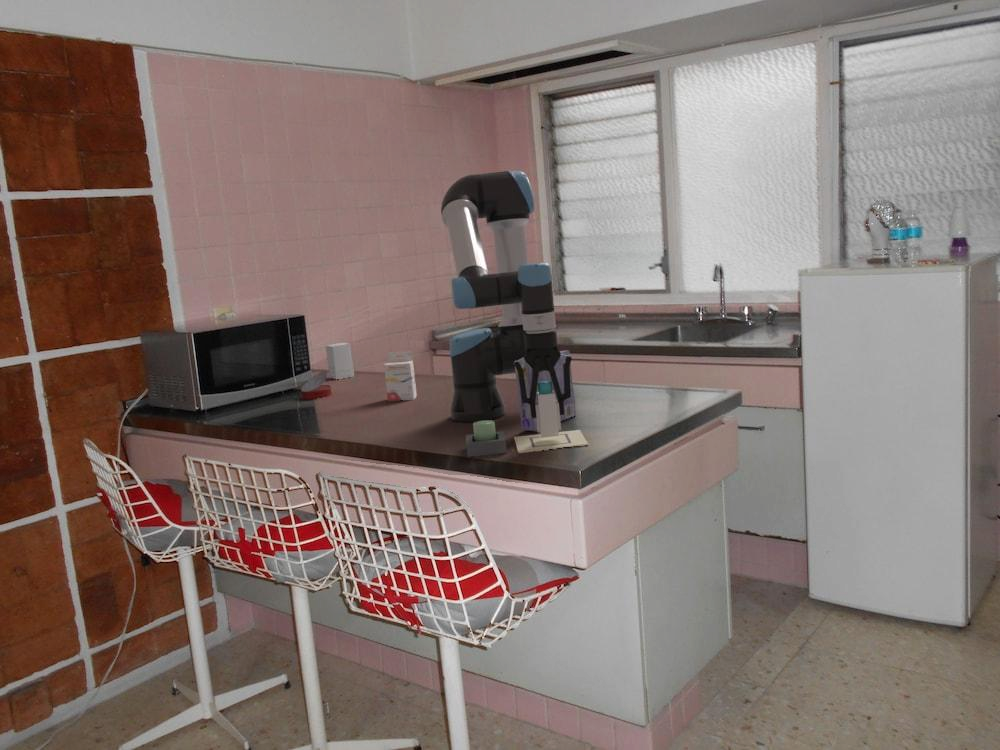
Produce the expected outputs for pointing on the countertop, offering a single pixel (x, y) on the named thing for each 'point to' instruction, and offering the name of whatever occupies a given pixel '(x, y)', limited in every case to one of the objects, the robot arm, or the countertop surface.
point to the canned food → (316, 387)
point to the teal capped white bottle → (547, 409)
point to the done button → (484, 430)
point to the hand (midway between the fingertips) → (549, 429)
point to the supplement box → (340, 360)
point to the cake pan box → (525, 413)
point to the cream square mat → (549, 441)
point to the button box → (486, 445)
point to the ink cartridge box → (400, 377)
